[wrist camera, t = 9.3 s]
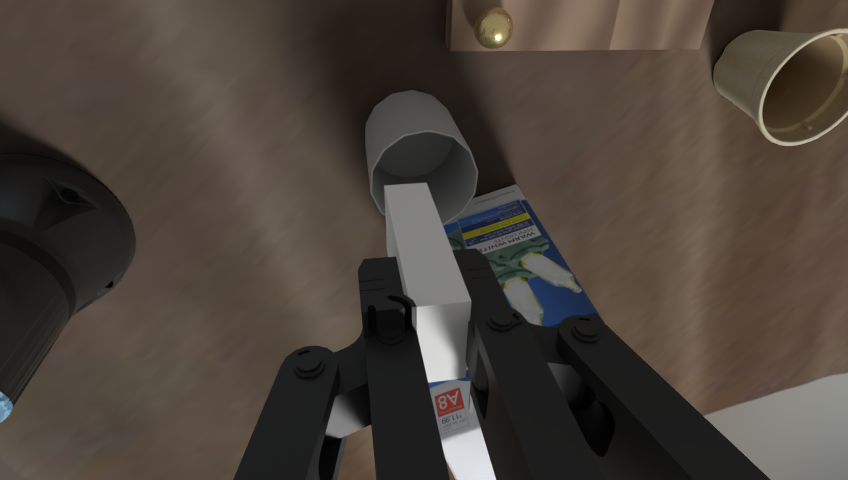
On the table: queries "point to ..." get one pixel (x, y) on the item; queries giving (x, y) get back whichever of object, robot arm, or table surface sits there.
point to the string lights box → (525, 292)
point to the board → (584, 24)
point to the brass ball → (493, 27)
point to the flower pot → (787, 81)
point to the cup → (419, 152)
